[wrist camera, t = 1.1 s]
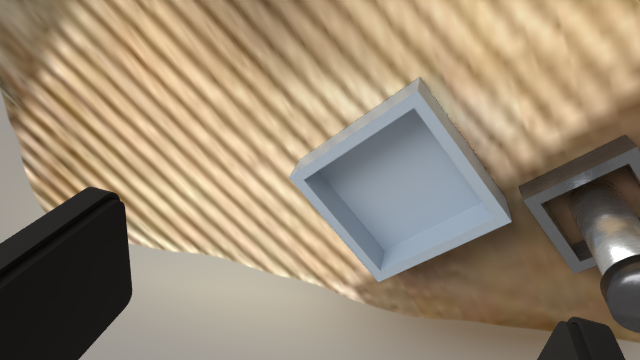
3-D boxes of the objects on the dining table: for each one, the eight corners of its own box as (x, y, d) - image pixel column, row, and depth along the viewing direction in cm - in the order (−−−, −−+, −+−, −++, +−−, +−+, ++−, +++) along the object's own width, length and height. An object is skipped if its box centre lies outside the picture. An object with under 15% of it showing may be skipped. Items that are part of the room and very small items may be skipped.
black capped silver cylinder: (610, 165, 37) (684, 261, 25) (637, 208, 38) (719, 318, 27) (551, 192, 39) (595, 291, 28) (578, 232, 40) (631, 343, 29)
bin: (419, 76, 37) (417, 90, 34) (505, 198, 40) (511, 221, 37) (300, 158, 43) (288, 177, 40) (383, 257, 47) (378, 282, 43)
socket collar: (625, 134, 35) (637, 146, 33) (673, 215, 37) (687, 232, 35) (518, 186, 39) (523, 200, 37) (567, 256, 41) (574, 273, 39)
